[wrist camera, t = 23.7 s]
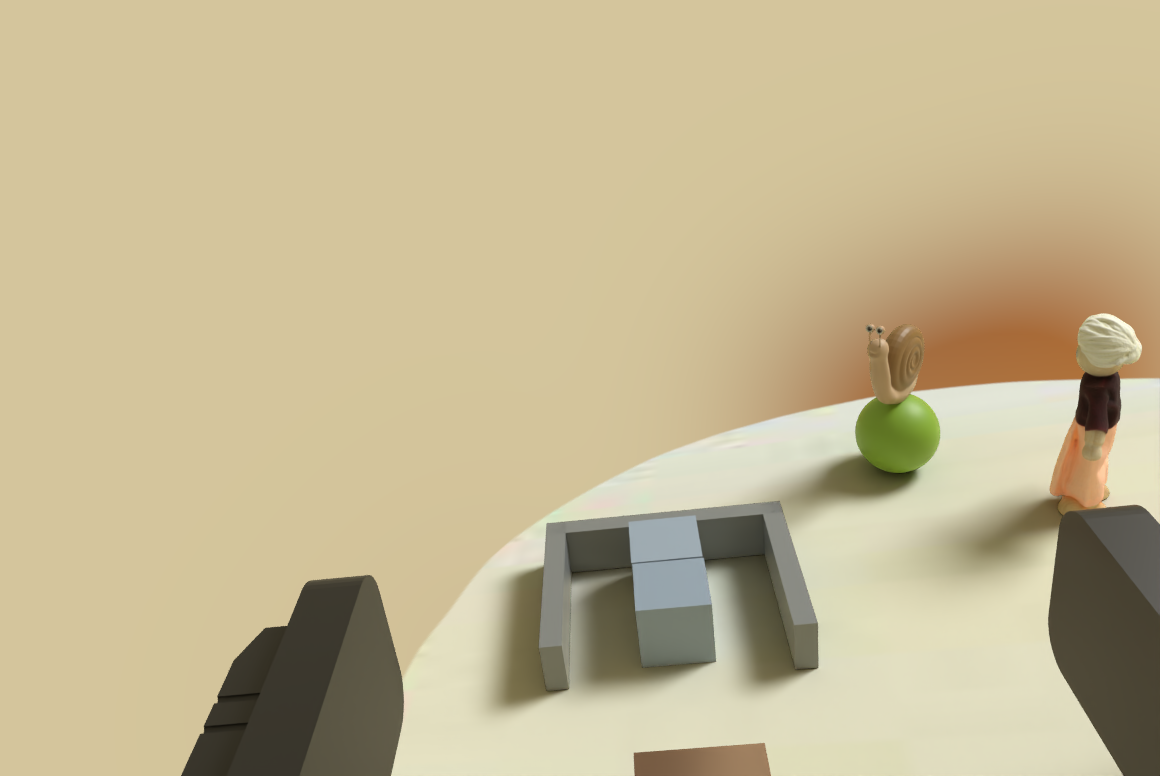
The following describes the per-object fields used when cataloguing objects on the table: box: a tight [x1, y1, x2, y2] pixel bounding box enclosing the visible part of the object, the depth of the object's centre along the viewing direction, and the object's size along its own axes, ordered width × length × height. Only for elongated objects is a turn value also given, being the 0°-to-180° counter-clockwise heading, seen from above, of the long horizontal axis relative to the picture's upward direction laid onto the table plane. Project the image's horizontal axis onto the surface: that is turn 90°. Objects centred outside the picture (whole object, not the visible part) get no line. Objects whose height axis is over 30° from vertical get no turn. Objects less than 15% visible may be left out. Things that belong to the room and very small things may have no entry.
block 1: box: [629, 515, 703, 574], centre depth 58 cm, size 4×4×4 cm
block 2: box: [632, 558, 716, 668], centre depth 54 cm, size 4×4×4 cm
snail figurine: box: [855, 324, 940, 473], centre depth 64 cm, size 5×6×12 cm
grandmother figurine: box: [1050, 314, 1142, 515], centre depth 58 cm, size 8×4×13 cm, turn 161°
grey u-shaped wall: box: [539, 501, 818, 691], centre depth 56 cm, size 14×11×3 cm
